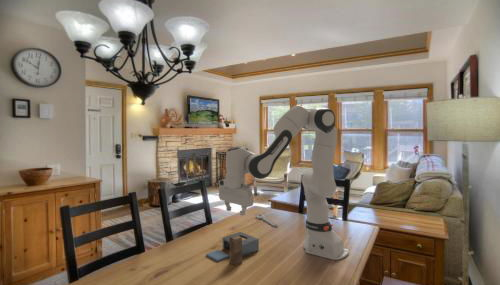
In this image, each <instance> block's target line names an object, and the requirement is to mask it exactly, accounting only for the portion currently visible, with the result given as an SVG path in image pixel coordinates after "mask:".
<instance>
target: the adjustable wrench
mask: <svg viewBox="0 0 500 285" xmlns="http://www.w3.org/2000/svg"><path fill="white" fill-rule="evenodd" d="M255 218H256V219H257V220H262V221H264V222H265V223H266V224H268V225H270V226H271V225H272V227H273V228H278V226H279V225H278V224H276V223H275V222H273V221H271V220H270V219H268V218H266V216H265V215H264V214H259V215H255Z"/></svg>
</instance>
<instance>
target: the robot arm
mask: <svg viewBox="0 0 500 285" xmlns="http://www.w3.org/2000/svg"><path fill="white" fill-rule="evenodd" d="M335 126H336V115H335V112H334V111H333V110H332V109H330V108H328V107H313V108H306V107H305V106H303V105H300V104H297V105H294V106H292V107H291V108H289V109H288V110H287V111H286V112H284V114H283V115H282V116H281V117H280V118H279V119H278V120H277V122H276V123H275V124H274V127H273V133H274V136H275V137H274V140H273V141H272V142H271V143H270V145H269V146H268V147H267V148H266V150H265V151H264V152H263V153H260V154H258V153H255V152H252V151H249V150H247V149H246V148H244V147H243V146H234V147H230V148H228V149H227V151H226V154H225V170H226V173H225V178H224V179H219V180H218V185H219V187H218V199H219V200H220V201H223V202H224V205H225V209H226V211H227V212H231V211H232V206H231V204H235V205H237V206H241V210H239V214H240V215H241V216H245V215H246V211H247V209H248V208H249V207H252V206H253V205H254V194H253V189H252V187H251V186H250V185H249V184H246V174H248V175H251V176H253V177H254V178H256V179H260V180H261V179H266V178H267V177H269V176H270V175H271V173H272V172H273V169H274V167H275V164H276V163H277V161H278V159H279V158H280V157H281V156H282V154H283V153H284V151H286V149H287V148H288V146H290V143H291V142H292V140H293V139H294V138H295V137H296V136H297V135H298V133H299V132H300V131H301V130H302V129H305V130H311V131H314V133H315V138H314V142H313V146H312V152H311V158H310V159H311V163H312V164H311V165H312V170H309V171H307V172H305V173H304V174H303V175H302V178H301V182H302V183H301V184H302V186H303V191H304V196H305V204H306V219H305V229H306V231H305V237H304V238H305V239H304V242H303V245H302V246H303V249H304V250H305V253H307V254H309V255H314V256H317V257H321V258H325V259H329V260H333V261H338V260H341V259H342V260H343V259H344V258H346V257H348V256H349V254H350V250H349V249H348V248H345V244H344V240H343V239H342V238H341V237H340V236H339V235H338V234H337V233H336V232H335V231H334V230H333V227H334V223H330V211H329V210H330V206H329V203H328V201H327V198H328V197H331V196H333V195H334V194H335V193H336V191H337V183H336V181H335V175H334V162H335V161H334V160H335V155H336V149H337V143H338V130H337V128H336V127H335ZM230 203H231V204H230Z"/></svg>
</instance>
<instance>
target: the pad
mask: <svg viewBox="0 0 500 285" xmlns="http://www.w3.org/2000/svg"><path fill="white" fill-rule="evenodd" d="M205 255H206V257H207V258H209V259H210V260H213V261H215V262H217V263H218V262H221V261H223V260H226V259H230V254H228V253H225V252H223V251H221V250H219V249H215V250H213V251H210V252H208V253H206V254H205Z"/></svg>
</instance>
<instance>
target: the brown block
mask: <svg viewBox="0 0 500 285" xmlns="http://www.w3.org/2000/svg"><path fill="white" fill-rule="evenodd" d="M242 240H243V238H242V237H240V236H238V235H234V236H231V237H230V248H229V264H232V265H233V266H235V267H236V266H238V265H241V264H242V263H243V257H242Z"/></svg>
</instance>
